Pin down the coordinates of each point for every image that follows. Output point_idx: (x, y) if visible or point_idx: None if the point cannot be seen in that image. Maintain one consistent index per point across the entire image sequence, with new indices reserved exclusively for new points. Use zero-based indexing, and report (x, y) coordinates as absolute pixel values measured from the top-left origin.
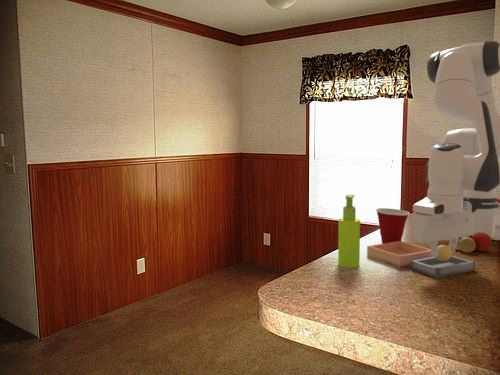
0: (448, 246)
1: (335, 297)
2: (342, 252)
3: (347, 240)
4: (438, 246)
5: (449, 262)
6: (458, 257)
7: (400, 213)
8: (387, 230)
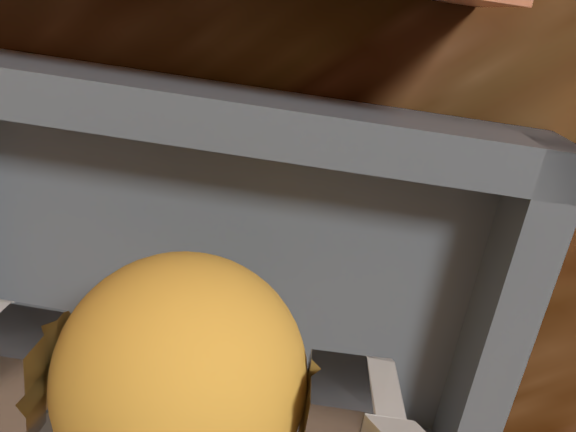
0: (356, 422)
1: None
2: None
3: None
4: (81, 407)
5: (443, 237)
6: (533, 335)
7: None
8: None
